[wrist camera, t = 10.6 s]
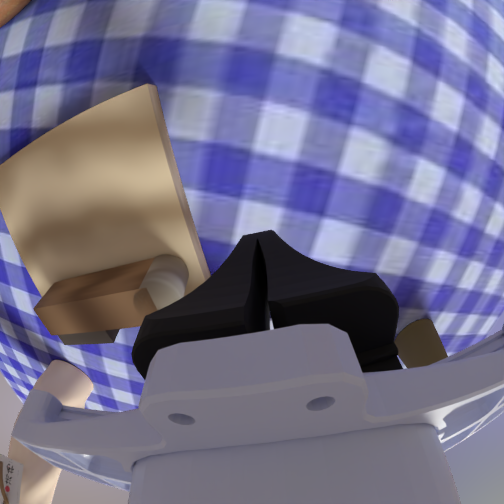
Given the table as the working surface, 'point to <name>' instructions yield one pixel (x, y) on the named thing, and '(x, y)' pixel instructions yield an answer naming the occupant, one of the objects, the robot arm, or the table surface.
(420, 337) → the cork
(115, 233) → the board
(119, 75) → the table surface
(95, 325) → the folding leg
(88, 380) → the water bottle
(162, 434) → the robot arm
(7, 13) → the ceramic jug
